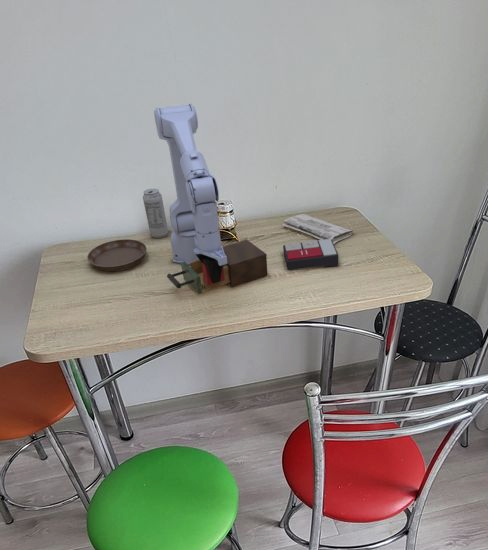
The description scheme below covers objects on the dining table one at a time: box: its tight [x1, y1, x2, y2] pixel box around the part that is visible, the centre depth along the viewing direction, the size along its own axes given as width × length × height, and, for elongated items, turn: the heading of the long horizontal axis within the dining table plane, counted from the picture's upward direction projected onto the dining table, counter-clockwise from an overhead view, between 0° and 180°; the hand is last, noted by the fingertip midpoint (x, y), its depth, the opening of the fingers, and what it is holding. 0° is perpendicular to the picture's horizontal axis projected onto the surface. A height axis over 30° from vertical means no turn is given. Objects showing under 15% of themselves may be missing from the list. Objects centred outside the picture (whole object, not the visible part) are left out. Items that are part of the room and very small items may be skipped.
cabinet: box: [222, 239, 268, 288], centre depth 138 cm, size 11×11×7 cm
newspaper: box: [281, 213, 354, 245], centre depth 161 cm, size 23×12×2 cm, turn 43°
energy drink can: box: [142, 188, 169, 239], centre depth 159 cm, size 6×6×15 cm
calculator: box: [282, 239, 339, 271], centre depth 144 cm, size 11×4×15 cm
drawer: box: [166, 259, 231, 295], centre depth 133 cm, size 16×10×5 cm, turn 121°
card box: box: [202, 262, 225, 286], centre depth 122 cm, size 5×2×6 cm, turn 121°
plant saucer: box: [86, 238, 148, 272], centre depth 149 cm, size 18×18×3 cm
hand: (213, 279), depth 123 cm, fingers closed on card box, 2 cm apart
